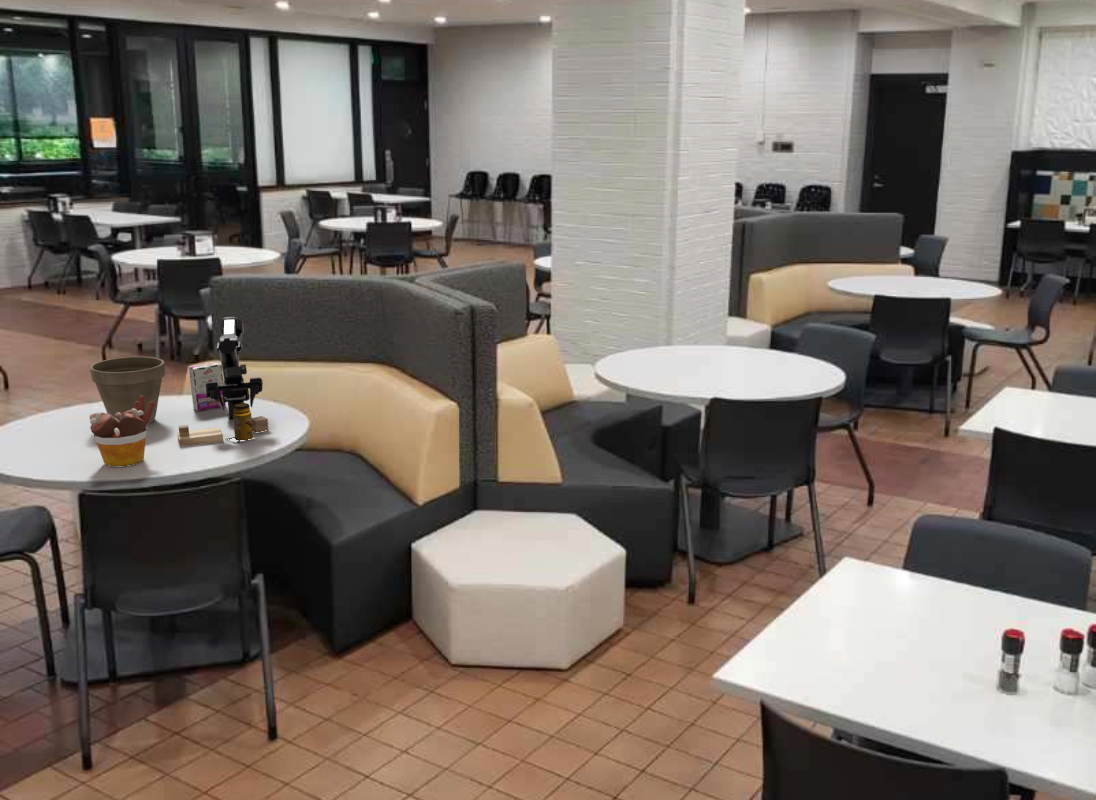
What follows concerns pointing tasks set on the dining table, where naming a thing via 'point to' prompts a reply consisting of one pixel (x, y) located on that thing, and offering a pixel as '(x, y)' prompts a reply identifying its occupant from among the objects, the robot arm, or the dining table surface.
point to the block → (259, 424)
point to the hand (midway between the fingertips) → (237, 408)
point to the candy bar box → (198, 381)
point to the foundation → (198, 436)
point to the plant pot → (128, 382)
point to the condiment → (242, 422)
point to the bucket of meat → (122, 434)
